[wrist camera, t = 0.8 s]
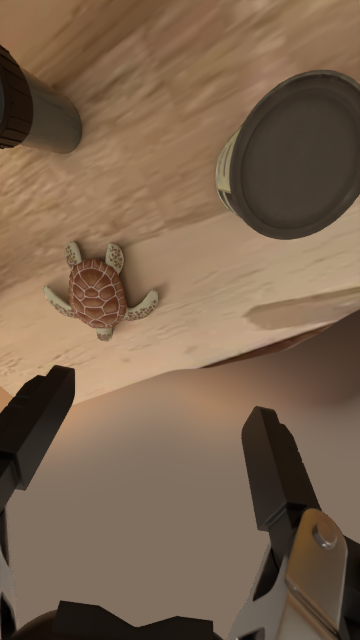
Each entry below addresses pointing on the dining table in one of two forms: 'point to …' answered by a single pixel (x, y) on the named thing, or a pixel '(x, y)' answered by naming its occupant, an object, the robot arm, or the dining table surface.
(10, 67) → the jar lid
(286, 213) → the coffee can
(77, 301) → the decorative turtle
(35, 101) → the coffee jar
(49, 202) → the dining table surface
